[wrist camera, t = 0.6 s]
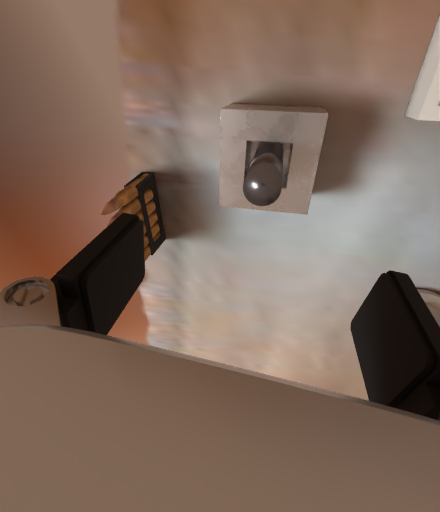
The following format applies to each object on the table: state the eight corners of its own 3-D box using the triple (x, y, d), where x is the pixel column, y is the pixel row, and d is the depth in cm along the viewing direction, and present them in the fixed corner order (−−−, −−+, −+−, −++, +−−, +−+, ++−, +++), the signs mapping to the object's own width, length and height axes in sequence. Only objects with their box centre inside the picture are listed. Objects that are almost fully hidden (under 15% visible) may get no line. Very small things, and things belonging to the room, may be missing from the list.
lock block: (322, 107, 30) (328, 113, 25) (304, 195, 35) (307, 214, 30) (231, 103, 31) (220, 108, 26) (228, 188, 37) (219, 205, 32)
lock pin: (288, 146, 32) (289, 178, 22) (275, 171, 34) (270, 212, 24) (263, 134, 32) (252, 162, 22) (251, 161, 33) (236, 196, 24)
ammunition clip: (165, 239, 44) (130, 287, 34) (155, 238, 44) (116, 285, 34) (153, 172, 38) (106, 206, 28) (141, 171, 38) (90, 205, 28)
